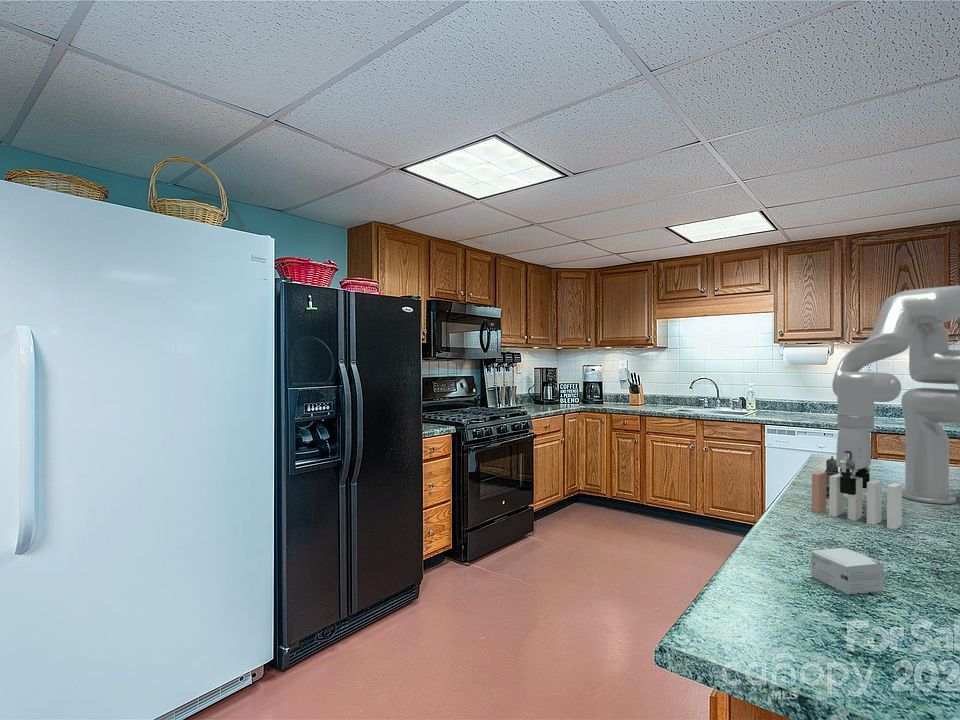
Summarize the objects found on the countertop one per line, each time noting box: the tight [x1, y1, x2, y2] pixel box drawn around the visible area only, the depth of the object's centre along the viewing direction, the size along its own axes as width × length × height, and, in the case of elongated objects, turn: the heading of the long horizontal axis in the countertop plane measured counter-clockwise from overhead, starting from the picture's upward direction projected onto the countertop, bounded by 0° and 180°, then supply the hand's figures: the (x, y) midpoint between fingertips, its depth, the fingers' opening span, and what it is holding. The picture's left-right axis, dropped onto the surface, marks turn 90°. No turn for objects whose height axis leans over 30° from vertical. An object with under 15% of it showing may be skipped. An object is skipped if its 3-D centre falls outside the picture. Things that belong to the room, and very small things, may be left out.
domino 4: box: [886, 482, 903, 530], centre depth 124 cm, size 5×2×10 cm, turn 127°
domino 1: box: [828, 473, 845, 518], centre depth 134 cm, size 5×2×10 cm, turn 127°
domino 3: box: [866, 479, 882, 526], centre depth 127 cm, size 5×2×10 cm, turn 127°
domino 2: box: [847, 477, 863, 522], centre depth 130 cm, size 5×2×10 cm, turn 128°
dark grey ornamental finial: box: [824, 455, 840, 499], centre depth 150 cm, size 6×6×12 cm
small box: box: [810, 547, 885, 595], centre depth 93 cm, size 8×8×5 cm
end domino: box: [811, 470, 827, 514], centre depth 137 cm, size 5×2×10 cm, turn 127°
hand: (855, 490), depth 130 cm, fingers open, 9 cm apart
